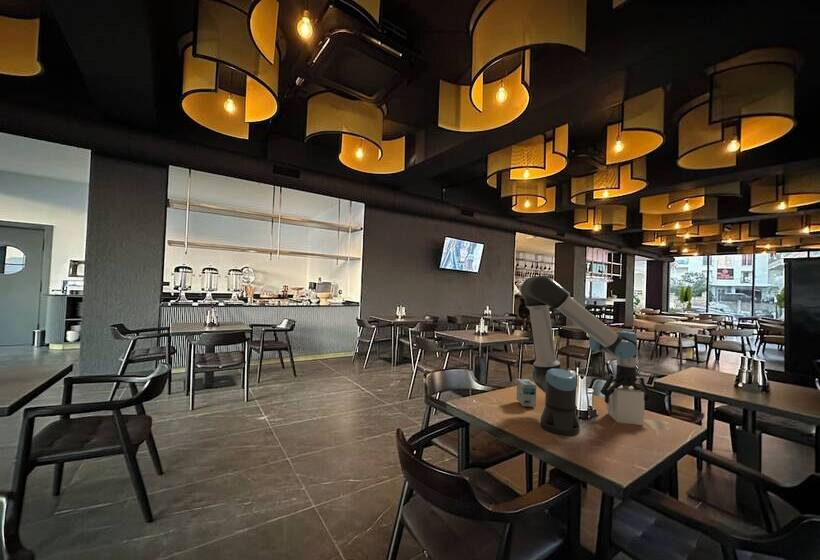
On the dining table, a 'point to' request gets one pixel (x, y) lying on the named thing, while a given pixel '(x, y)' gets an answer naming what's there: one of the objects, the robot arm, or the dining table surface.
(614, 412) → the cover
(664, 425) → the tray
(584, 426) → the dining table surface
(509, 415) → the dining table surface
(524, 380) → the light bulb box
